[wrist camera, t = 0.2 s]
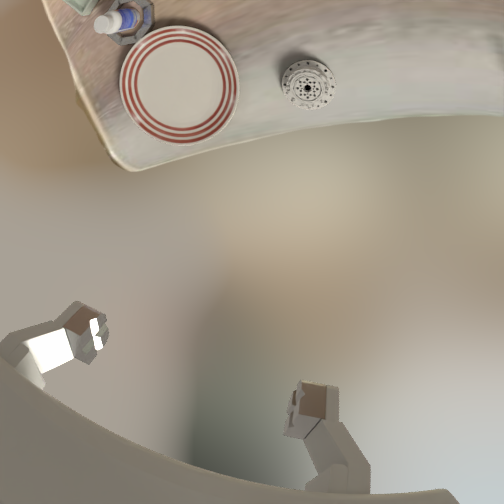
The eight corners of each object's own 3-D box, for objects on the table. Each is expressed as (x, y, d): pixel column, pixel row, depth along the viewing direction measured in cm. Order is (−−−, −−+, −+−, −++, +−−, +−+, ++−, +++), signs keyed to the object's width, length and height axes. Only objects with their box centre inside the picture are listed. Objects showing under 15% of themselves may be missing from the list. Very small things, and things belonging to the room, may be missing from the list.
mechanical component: (281, 59, 45) (284, 106, 52) (277, 62, 42) (280, 113, 49) (335, 61, 42) (335, 109, 49) (336, 63, 39) (335, 116, 46)
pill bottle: (135, 3, 39) (105, 6, 32) (144, 21, 42) (115, 26, 35) (117, 16, 41) (87, 21, 34) (126, 34, 44) (97, 41, 38)
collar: (129, -15, 35) (126, -15, 34) (165, 12, 40) (162, 12, 39) (100, 26, 43) (97, 26, 42) (132, 53, 48) (129, 54, 47)
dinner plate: (221, 6, 39) (215, 6, 36) (258, 128, 56) (254, 134, 54) (112, 53, 48) (103, 56, 46) (152, 150, 66) (145, 156, 64)
